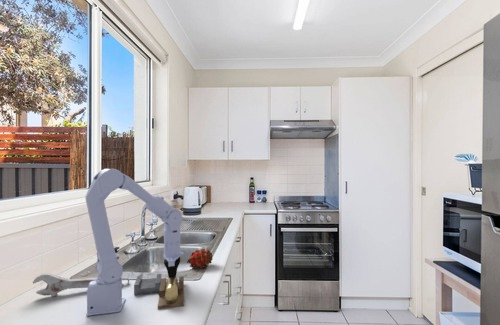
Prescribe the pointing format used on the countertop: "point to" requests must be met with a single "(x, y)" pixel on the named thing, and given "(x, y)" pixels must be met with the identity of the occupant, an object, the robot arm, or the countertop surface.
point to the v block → (147, 285)
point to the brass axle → (171, 290)
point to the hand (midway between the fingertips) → (172, 279)
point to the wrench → (62, 283)
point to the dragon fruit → (200, 258)
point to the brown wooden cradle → (162, 290)
